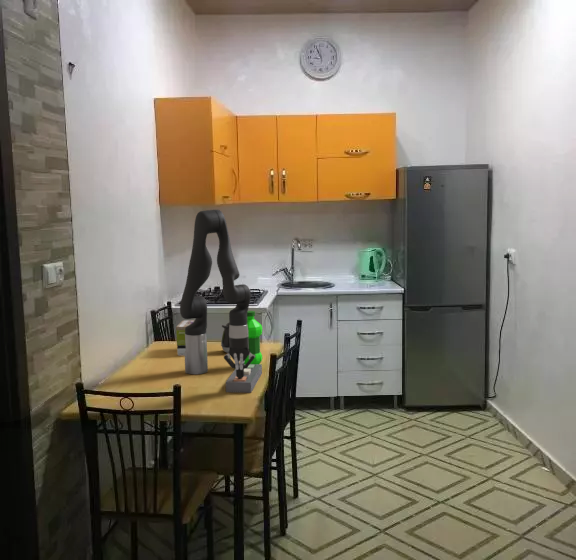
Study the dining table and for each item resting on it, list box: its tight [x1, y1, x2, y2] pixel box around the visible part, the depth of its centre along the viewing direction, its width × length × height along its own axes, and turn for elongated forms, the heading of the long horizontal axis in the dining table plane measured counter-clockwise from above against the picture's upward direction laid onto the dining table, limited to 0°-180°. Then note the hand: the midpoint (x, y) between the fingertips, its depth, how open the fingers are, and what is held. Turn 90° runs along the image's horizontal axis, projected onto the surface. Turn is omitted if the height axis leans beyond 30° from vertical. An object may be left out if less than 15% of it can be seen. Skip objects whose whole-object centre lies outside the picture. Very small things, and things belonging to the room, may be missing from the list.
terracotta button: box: [234, 376, 247, 382], centre depth 240 cm, size 4×4×3 cm
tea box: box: [175, 319, 195, 357], centre depth 300 cm, size 15×10×15 cm, turn 178°
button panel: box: [225, 363, 263, 394], centre depth 249 cm, size 10×26×4 cm, turn 173°
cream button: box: [244, 369, 251, 375], centre depth 248 cm, size 4×4×3 cm
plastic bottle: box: [244, 310, 263, 364], centre depth 271 cm, size 10×10×25 cm
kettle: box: [220, 322, 230, 354], centre depth 297 cm, size 10×10×15 cm
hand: (240, 378), depth 239 cm, fingers closed
